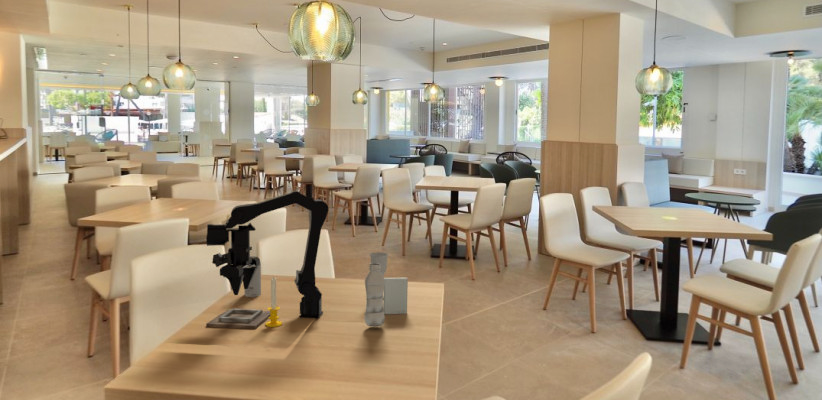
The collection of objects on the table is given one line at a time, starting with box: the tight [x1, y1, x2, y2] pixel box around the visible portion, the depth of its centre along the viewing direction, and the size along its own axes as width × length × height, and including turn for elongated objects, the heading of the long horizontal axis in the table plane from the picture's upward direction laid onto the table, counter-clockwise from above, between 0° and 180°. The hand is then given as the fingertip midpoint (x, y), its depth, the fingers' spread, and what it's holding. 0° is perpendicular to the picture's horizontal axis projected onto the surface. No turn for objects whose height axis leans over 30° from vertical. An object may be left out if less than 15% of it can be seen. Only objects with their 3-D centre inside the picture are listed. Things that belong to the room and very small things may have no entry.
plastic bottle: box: [364, 262, 386, 328], centre depth 173 cm, size 6×7×20 cm
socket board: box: [205, 308, 270, 330], centre depth 177 cm, size 16×16×2 cm
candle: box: [264, 276, 283, 328], centre depth 173 cm, size 5×5×16 cm
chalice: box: [369, 252, 389, 301], centre depth 202 cm, size 7×7×18 cm
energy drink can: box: [244, 261, 262, 298], centre depth 205 cm, size 6×6×15 cm
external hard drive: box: [383, 277, 409, 315], centre depth 188 cm, size 2×8×12 cm, turn 98°
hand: (241, 291), depth 177 cm, fingers open, 8 cm apart
